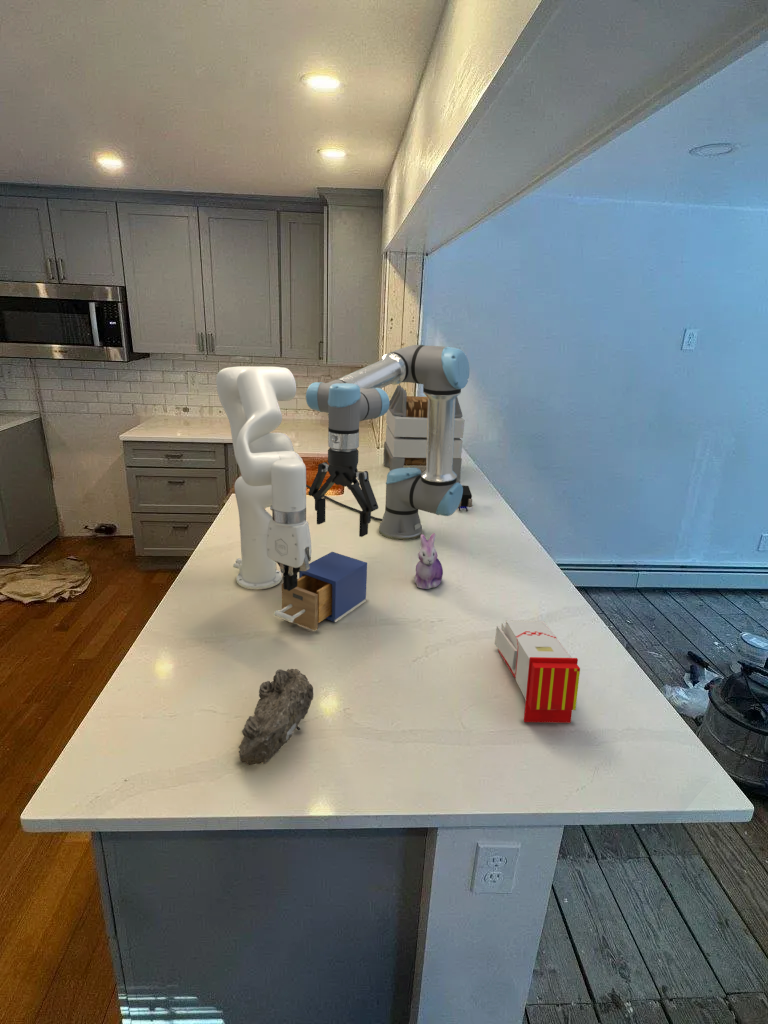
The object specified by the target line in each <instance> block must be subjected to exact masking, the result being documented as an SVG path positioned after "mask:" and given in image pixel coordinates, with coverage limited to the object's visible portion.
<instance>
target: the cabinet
mask: <svg viewBox="0 0 768 1024" xmlns="http://www.w3.org/2000/svg"><path fill="white" fill-rule="evenodd" d="M309 567H310V569H309V570H307V571H299V572H298V579H299V578H300V577H302V576H304V575H307V576H310V577H313V578H316V579H319V580H321V581H324V582H327V583H330V584H332V614H331V615H330V616H328V617H327V618H325V619H324V620H328V621H330V622H333V623H337V622H338V621H340V620H341V619H343V618H344V617H345V616H347V615H349V614H350V613H351V612H353V611H354V610H356V609H357V608H358V607H360V606H361V605H362V604H364V603H366V602H367V583H368V582H367V581H368V580H367V579H368V562H366V561H363V560H360V559H358V558H354V557H350V556H348V555H344V554H341V553H338V552H335V551H330V552H329V553H327V554H325V555H323V556H321V557H319V558H317V559H314V561H312V562H311V561H310V562H309Z"/></svg>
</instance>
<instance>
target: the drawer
mask: <svg viewBox="0 0 768 1024" xmlns="http://www.w3.org/2000/svg"><path fill="white" fill-rule="evenodd" d="M280 588H281V609H280V610H278V609H276V610H275V611H274V613H273V615H274V617H277V618H279V619H282V620H284V621H286V622H289V623H295V624H297V625H300V626H303V627H304V628H306V629H310V630H312V631H316V630H318V629H319V624H320V623H321V622H322V621H325V620H326V619H325V618H327V617H328V616H330V615H331V614H332V584H330V583H327V582H324V581H321V580H319V579H316V578H313V577H310V576H307V575H304V576H302V577H300V578H299V577H298V578H297V587H295V588H294V589H292V590H290V591H288V590H287V589H286V590H285V589H283V582H282V583H281V587H280Z"/></svg>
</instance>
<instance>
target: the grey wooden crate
mask: <svg viewBox="0 0 768 1024" xmlns="http://www.w3.org/2000/svg"><path fill="white" fill-rule="evenodd" d="M407 394H408V393H407V390H406V389H404V388H403V387H402V385H399V384H397V386H396V388H395V390H394V392H393V394H392V395H391V398H390V399H389V403H390V404H389V409H388V411H387V412H386V413H385V423H386V428H385V438H384V442H383V466H384V467H388V468H389V471H391V470H394V469H398V468H405V466H406V467H407V466H411V467H412V466H413V467H415V466H416V467H417V466H418V467H426V450H427V412H428V397H427V396H415V395H414V396H413V395H412V396H411V395H407ZM464 429H465V419H464V418H463V411H462V408H461V405H460V402H459V398H458V396H457V397H456V401H455V422H454V444H453V466H452V470H453V471H454V472H455V473H456V475H457V481H456V482H457V483H461V472H462V461H463V460H462V453H463V442H464V441H463V440H462V439H463V438H464V431H465V430H464Z"/></svg>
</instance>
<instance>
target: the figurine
mask: <svg viewBox="0 0 768 1024" xmlns="http://www.w3.org/2000/svg"><path fill="white" fill-rule="evenodd" d="M436 536H437V535H436V533H435V532H433V533H431V534H430V537H429V539H427V538H426V536H425V535H424V534H423V533H422V534H421V536H420V537H419V538H420V540H419V541H420V548H419V550H418V553H417V557H418V560H419V561H418V562H416V565H415V575H414V580H413V581H414V583H415V585H416V587H417V588H418V589H419V588H420V589H423V590H430V589H432V588H437V587H438V586H439V585H440V584H441V583H442V580H443V575H444V569H443V565H442V563H441V560H440V559H439V558H438V552H437V549H436V548H435V542H436Z"/></svg>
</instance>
